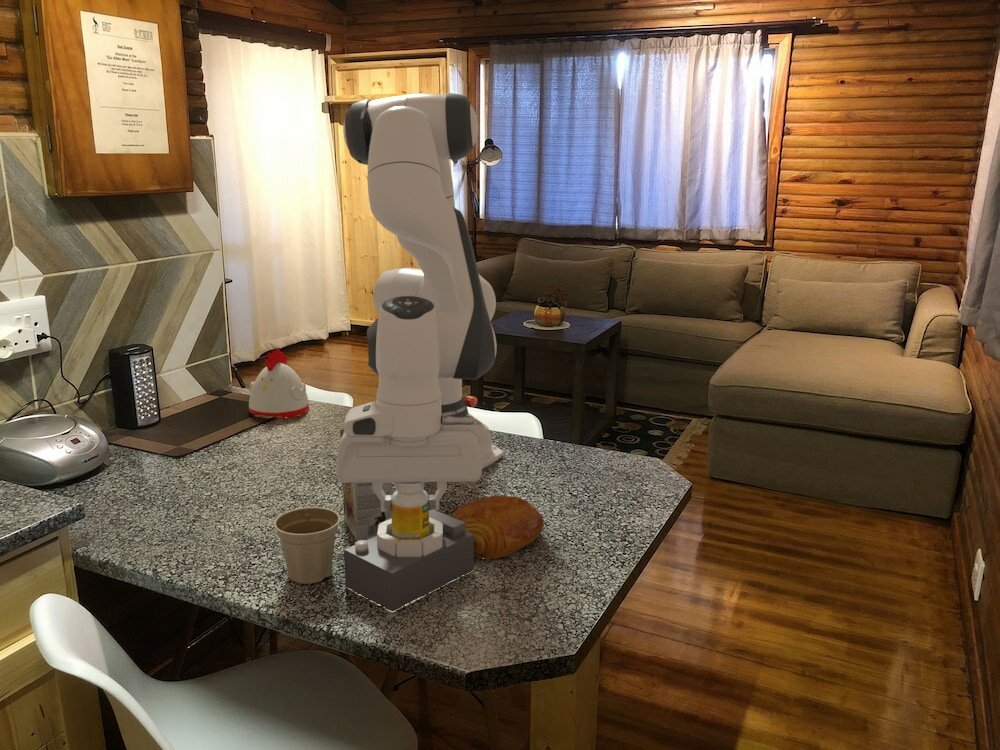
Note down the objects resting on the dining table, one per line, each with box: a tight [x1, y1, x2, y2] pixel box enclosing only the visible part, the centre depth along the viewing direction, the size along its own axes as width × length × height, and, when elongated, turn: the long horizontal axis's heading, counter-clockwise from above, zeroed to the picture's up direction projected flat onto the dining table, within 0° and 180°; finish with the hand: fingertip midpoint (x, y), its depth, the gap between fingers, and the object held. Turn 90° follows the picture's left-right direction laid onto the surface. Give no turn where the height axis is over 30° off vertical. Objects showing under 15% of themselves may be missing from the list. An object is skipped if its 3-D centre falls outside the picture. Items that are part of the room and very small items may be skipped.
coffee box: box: [340, 428, 393, 542], centre depth 133 cm, size 9×6×16 cm
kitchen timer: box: [248, 348, 310, 418], centre depth 193 cm, size 14×14×15 cm
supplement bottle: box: [391, 482, 430, 540], centre depth 115 cm, size 5×5×10 cm
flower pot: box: [273, 506, 342, 585], centre depth 118 cm, size 9×9×9 cm
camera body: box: [343, 510, 475, 611], centre depth 117 cm, size 16×10×8 cm, turn 139°
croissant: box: [452, 495, 545, 560], centre depth 131 cm, size 14×16×8 cm
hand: (410, 509), depth 115 cm, fingers closed on supplement bottle, 5 cm apart
